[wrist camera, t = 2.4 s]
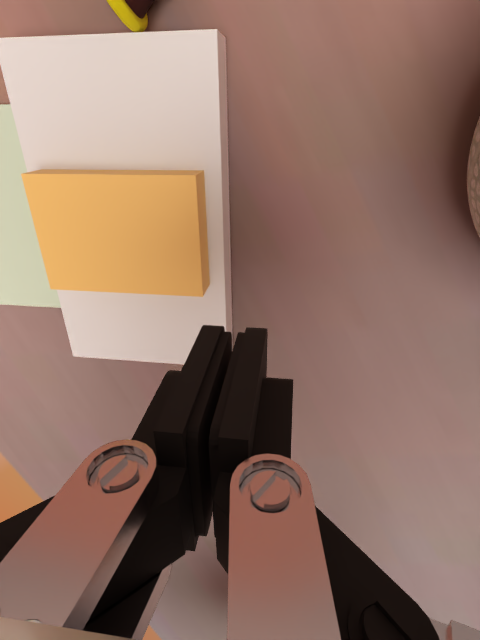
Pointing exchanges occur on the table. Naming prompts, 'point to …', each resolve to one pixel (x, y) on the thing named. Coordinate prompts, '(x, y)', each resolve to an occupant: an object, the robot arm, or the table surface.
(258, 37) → the table surface
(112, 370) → the table surface
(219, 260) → the white flat block
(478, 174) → the planter
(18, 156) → the mat
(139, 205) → the yellow orange rectangular block
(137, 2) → the opera glasses
